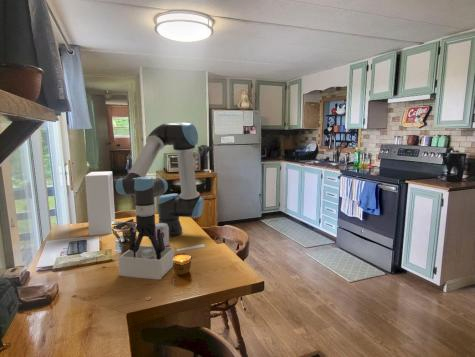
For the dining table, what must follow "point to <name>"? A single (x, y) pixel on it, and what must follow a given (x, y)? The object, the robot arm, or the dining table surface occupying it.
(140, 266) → the carton
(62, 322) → the dining table surface
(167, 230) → the supplement can
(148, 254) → the pill bottle
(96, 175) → the box
